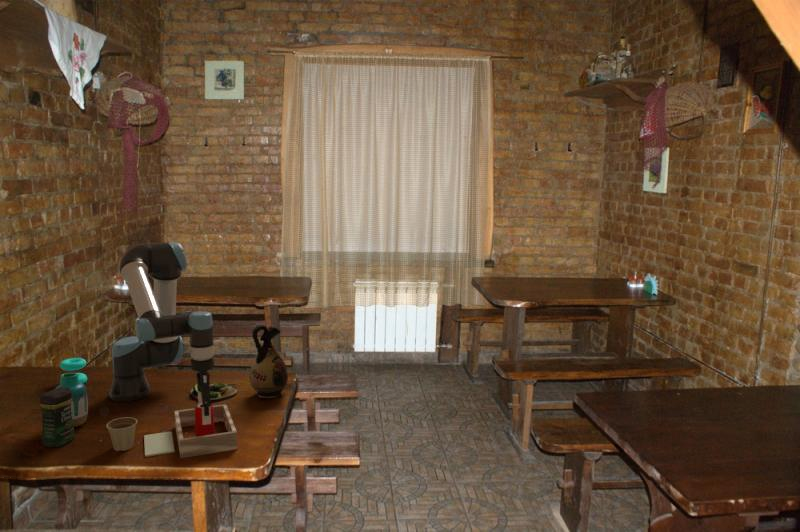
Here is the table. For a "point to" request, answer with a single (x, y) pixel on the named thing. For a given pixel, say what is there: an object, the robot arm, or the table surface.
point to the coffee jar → (57, 417)
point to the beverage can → (199, 427)
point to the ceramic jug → (267, 365)
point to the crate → (207, 442)
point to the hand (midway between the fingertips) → (204, 416)
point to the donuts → (75, 367)
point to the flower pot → (122, 433)
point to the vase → (76, 397)
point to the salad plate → (215, 391)
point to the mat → (158, 444)
